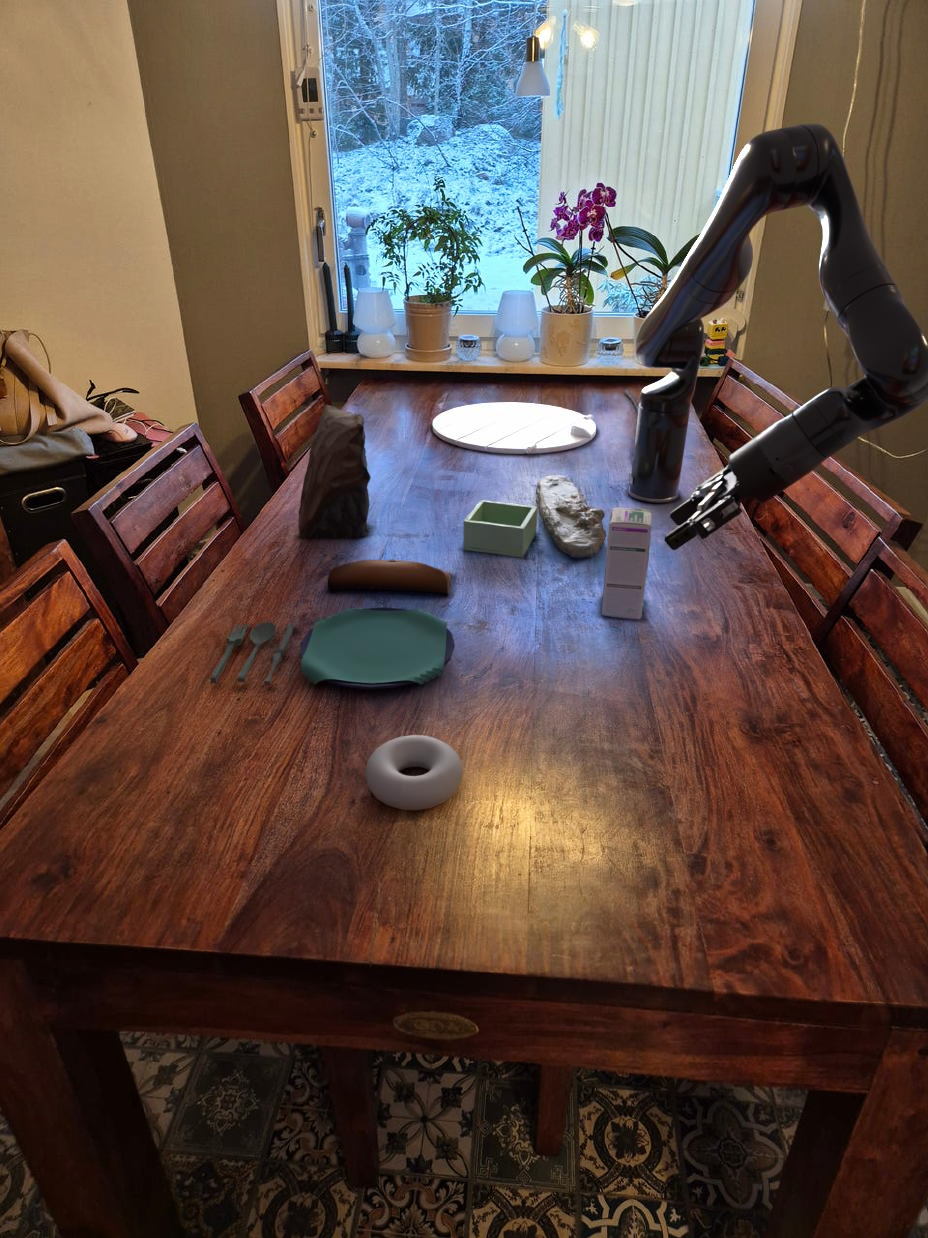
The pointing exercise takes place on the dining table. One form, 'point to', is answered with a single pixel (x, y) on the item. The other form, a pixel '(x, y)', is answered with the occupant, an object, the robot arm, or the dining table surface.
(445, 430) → the lazy susan
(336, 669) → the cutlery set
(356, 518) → the dark brown rock
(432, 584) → the sunglasses case
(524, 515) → the socket
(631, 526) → the syrup box
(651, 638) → the dining table surface
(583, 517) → the elongated rock
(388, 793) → the donut
